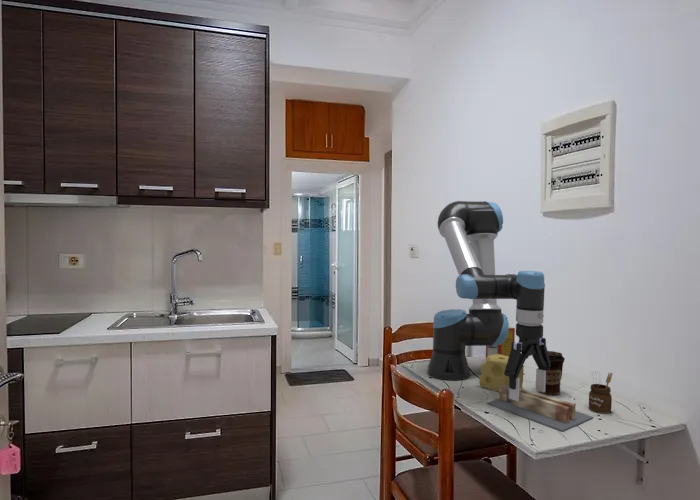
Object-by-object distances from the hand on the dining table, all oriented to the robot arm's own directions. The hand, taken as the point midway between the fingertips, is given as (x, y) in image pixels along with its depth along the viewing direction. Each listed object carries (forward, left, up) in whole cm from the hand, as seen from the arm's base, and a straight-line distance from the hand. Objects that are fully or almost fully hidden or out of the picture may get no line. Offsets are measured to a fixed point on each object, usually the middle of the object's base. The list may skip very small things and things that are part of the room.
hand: (527, 395), depth 136 cm
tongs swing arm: (+4, +1, -3) cm, 6 cm away
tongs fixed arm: (+2, 0, -3) cm, 4 cm away
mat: (+3, +1, -4) cm, 5 cm away
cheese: (-16, +10, -4) cm, 19 cm away
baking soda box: (-33, +32, -4) cm, 46 cm away
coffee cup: (-4, +19, -4) cm, 20 cm away
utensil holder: (+13, +17, -4) cm, 22 cm away
